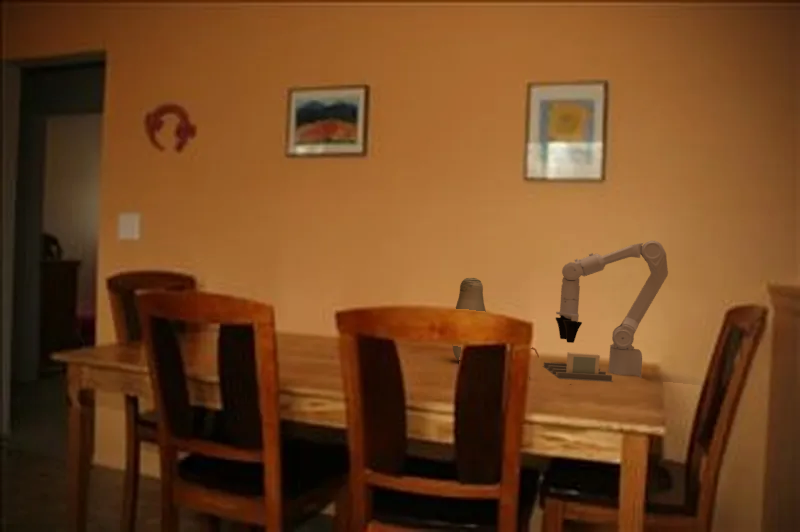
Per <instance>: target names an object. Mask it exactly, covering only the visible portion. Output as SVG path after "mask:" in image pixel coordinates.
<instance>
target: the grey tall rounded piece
mask: <svg viewBox="0 0 800 532" xmlns="http://www.w3.org/2000/svg"><path fill="white" fill-rule="evenodd" d="M458 293H459V294H458V299H457V302H456V306H455V308H456V309H469V310H476V311H485V312H486V307H485V301H484V285H483V283H482V281H481V280H480V279H478V278H476V277H466V278H464V279H463V280H462V281H461V282H460V285H459V292H458ZM486 313H487V312H486ZM452 352H453V355H454V357H455V359H456V360H457V361H459V357H460V353H461V347H458V346H453V345H452Z"/></svg>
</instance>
